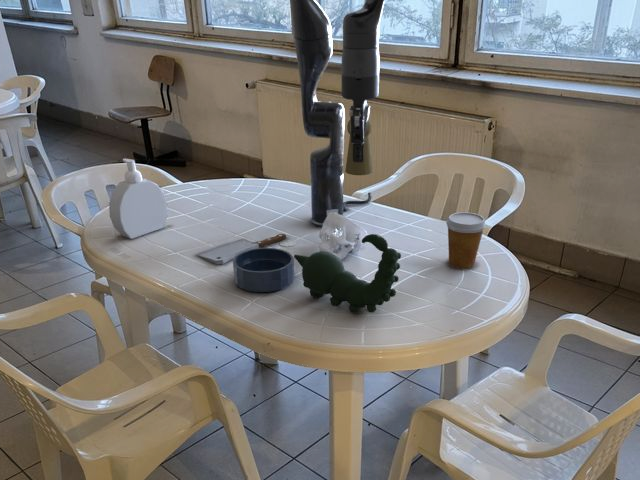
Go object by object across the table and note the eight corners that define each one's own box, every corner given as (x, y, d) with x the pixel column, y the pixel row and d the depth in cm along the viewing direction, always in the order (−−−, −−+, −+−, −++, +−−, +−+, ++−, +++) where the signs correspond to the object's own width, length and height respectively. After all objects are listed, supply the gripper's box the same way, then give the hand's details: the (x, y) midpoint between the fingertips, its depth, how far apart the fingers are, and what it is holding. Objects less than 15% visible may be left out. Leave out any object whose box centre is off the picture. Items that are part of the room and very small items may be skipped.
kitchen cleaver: (269, 228, 174) (291, 236, 168) (270, 232, 175) (292, 240, 168) (195, 252, 160) (216, 262, 154) (195, 256, 161) (216, 266, 154)
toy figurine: (398, 313, 137) (303, 280, 146) (410, 234, 126) (307, 204, 135) (379, 332, 130) (281, 296, 139) (390, 250, 119) (283, 217, 129)
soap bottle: (159, 221, 182) (148, 152, 171) (171, 225, 179) (160, 155, 168) (112, 237, 171) (97, 165, 160) (124, 242, 168) (109, 168, 158)
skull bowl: (300, 252, 158) (318, 206, 157) (334, 265, 169) (350, 223, 168) (329, 263, 152) (347, 216, 150) (361, 277, 163) (379, 233, 161)
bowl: (243, 266, 154) (241, 246, 151) (299, 269, 153) (298, 249, 150) (227, 292, 142) (225, 270, 139) (287, 295, 141) (286, 273, 138)
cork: (343, 167, 136) (343, 115, 130) (370, 166, 136) (371, 114, 131) (346, 175, 131) (347, 121, 125) (374, 174, 131) (376, 121, 125)
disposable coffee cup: (483, 259, 158) (489, 214, 152) (477, 274, 150) (483, 227, 144) (446, 254, 161) (450, 209, 154) (439, 268, 153) (443, 222, 147)
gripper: (345, 66, 129) (345, 149, 138) (337, 77, 117) (337, 167, 127) (381, 67, 129) (378, 150, 138) (377, 78, 117) (374, 169, 126)
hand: (359, 158), depth 132 cm, fingers closed on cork, 4 cm apart
